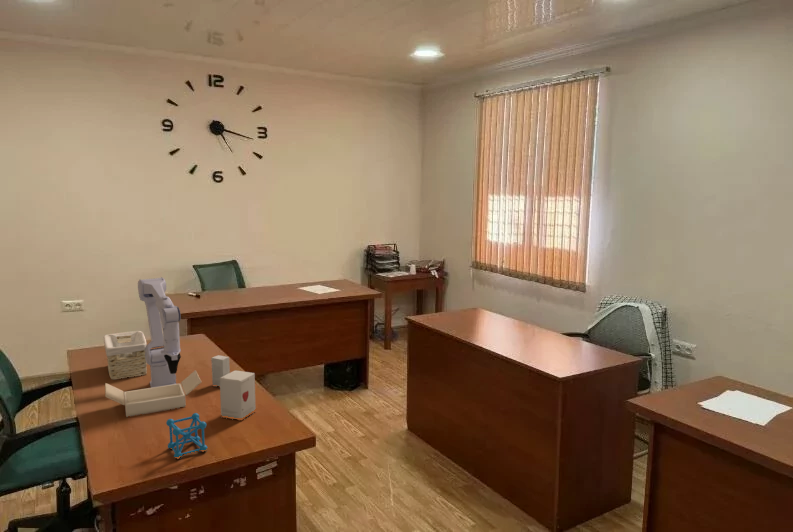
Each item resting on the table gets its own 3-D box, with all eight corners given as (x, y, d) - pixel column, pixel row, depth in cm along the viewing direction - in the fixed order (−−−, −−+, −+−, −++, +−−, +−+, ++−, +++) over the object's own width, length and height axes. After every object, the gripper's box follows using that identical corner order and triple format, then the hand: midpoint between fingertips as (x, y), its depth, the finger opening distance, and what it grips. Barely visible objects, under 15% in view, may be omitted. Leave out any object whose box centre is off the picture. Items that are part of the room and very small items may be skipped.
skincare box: (230, 384, 231) (229, 356, 229) (223, 388, 227) (222, 359, 225) (219, 382, 234) (218, 354, 232) (212, 385, 230) (210, 357, 228)
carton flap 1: (105, 382, 207) (105, 383, 207) (106, 395, 195) (105, 396, 195) (123, 391, 210) (122, 392, 210) (124, 404, 198) (124, 405, 198)
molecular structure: (208, 452, 174) (207, 422, 172) (175, 461, 168) (173, 430, 166) (199, 440, 182) (197, 411, 180) (167, 448, 176) (165, 418, 174)
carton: (181, 394, 220) (180, 383, 220) (185, 407, 208) (185, 395, 207) (124, 403, 211) (123, 391, 210) (126, 417, 199) (125, 405, 198)
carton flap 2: (180, 382, 220) (181, 383, 220) (185, 394, 207) (186, 395, 208) (195, 370, 222) (196, 370, 222) (201, 381, 209) (201, 382, 209)
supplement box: (241, 421, 196) (240, 380, 193) (220, 418, 199) (218, 377, 197) (256, 412, 204) (255, 372, 202) (236, 408, 207) (234, 369, 205)
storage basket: (149, 376, 241) (147, 342, 239) (107, 382, 233) (104, 348, 231) (144, 360, 262) (142, 329, 260) (105, 365, 254) (103, 334, 252)
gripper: (158, 335, 217) (160, 368, 219) (162, 345, 204) (164, 380, 206) (177, 333, 220) (179, 366, 222) (182, 342, 207) (184, 377, 209)
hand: (173, 373), depth 214 cm, fingers closed
